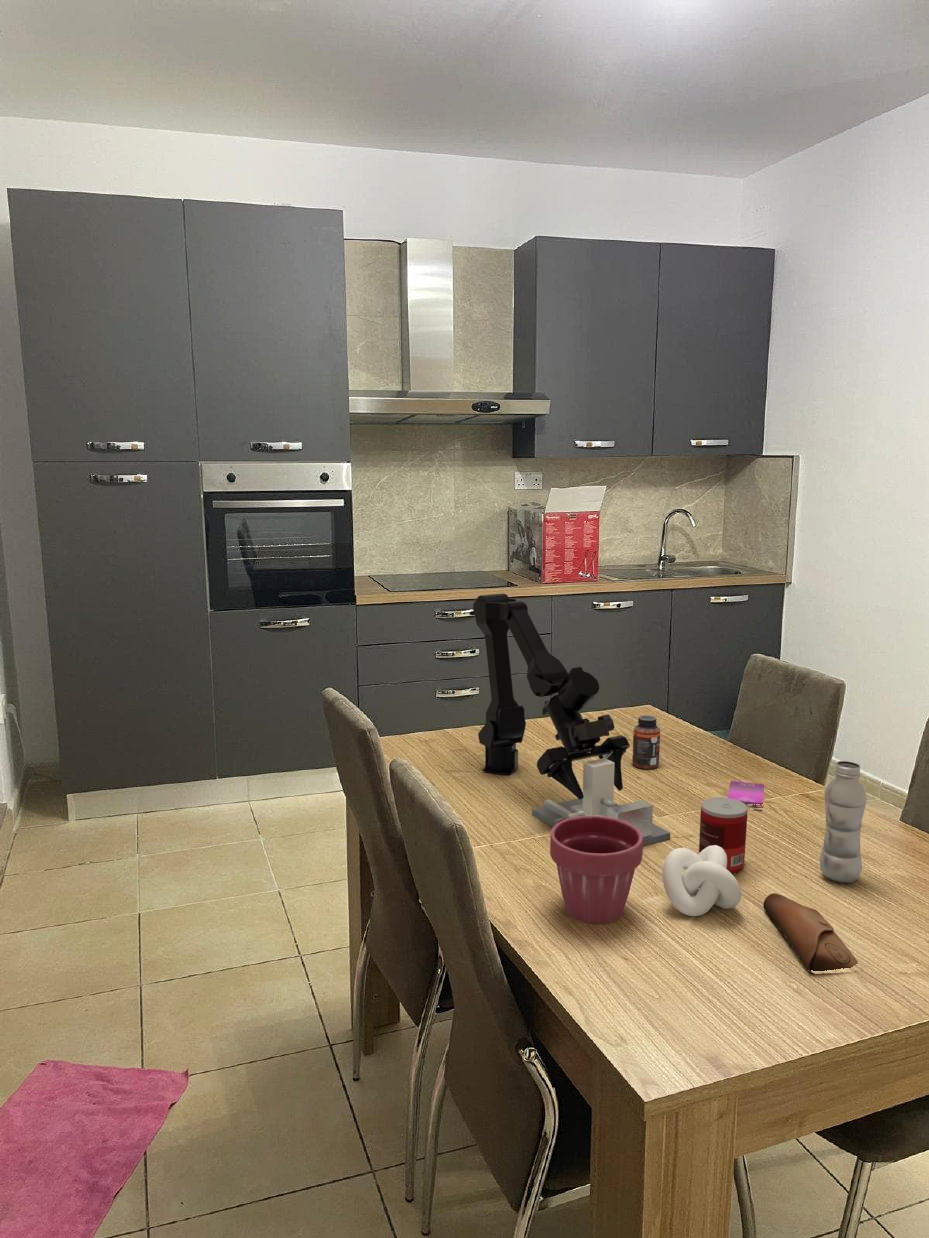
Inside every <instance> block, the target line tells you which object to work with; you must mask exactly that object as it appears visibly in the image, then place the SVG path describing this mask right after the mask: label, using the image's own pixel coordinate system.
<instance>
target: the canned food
mask: <svg viewBox="0 0 929 1238" xmlns="http://www.w3.org/2000/svg"><path fill="white" fill-rule="evenodd" d="M748 812H749V810H747V806H746V805H745V804H744V803H743V802H740V801H738V800H735V799H731V798H727V797H724V796H723V797H720V796H718V797H715V796H714V797H710V798H706V799H704V800H703V801H702V802H701V806H700V814H699V815H700V817H699V818H700V819H699V837H698V838H699V839H698V844H699V845H698V854H699V853H700V852H701V851H702V850H703V849H705V848H706V847H708V846H713V845H717V846H719V847H721V848H722V849H723V850H724V851H725V853H726V855H727V868H726V869H727V870H728V871H729V872H730V873H731V874H732V875H735V874H734V873H736V874H738V873H740V872H741V871H742V870H743V869H744V866H745V859H746V856H745V855H746V844H747V828H748V827H747V825H748ZM742 868H743V869H742ZM739 871H740V872H739Z"/></svg>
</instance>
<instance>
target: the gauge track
mask: <svg viewBox="0 0 929 1238" xmlns="http://www.w3.org/2000/svg"><path fill="white" fill-rule="evenodd" d="M582 793H583V791H582ZM543 803H544V805H543V806H539V807H535V808H532V809H531V815H532V816H534V817H535V818H537V819H538V820H540V821H541V822H543V823H545V824H546V825H548V826H550V827H551V828H553V827H554V826H555V825H556V824H557V823H559V822H561V821H563V820H566V819H569V818H573V817H569V816H568V814H572V812H570V807H571V806H575V805H579V804H583V799H581V800H580V799H578V798H574V799H569V800H565V801H559V802H555V801H553V800H551V799H549V798H548V799H544V801H543ZM618 805H619V804H617V803H615V806H618ZM574 817H578V816H574ZM667 839H668V840H671V832H670V831H668V830H666V829H664V828H662V827H661V826H658V825H656V824H655V823H653V822H652V836H651V837H647V838H643V847H644V846H645V845H646V846H650V845H653V844H657V843H660V842H664V841H668V840H667ZM656 842H657V843H656Z"/></svg>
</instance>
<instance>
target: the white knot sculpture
mask: <svg viewBox="0 0 929 1238" xmlns="http://www.w3.org/2000/svg"><path fill="white" fill-rule="evenodd" d="M662 865H663V866H662V883H663V888H664V891H665V894H666V896H667V898H668V900H669V902H670V903H671V905H672V906H673V907H674V908H675V909H676V910H678V912H680V913H681V914H684V915H686V916H688V917H698V916H699V917H700V916H702V915H705V914H706V913H707V912H709V910H711V908H713V906H714V905H715V906H718V907H719V908H722V909H726V910H727V909H733V908H735V907H737V906H738V905H739V904H740V902H741V899H742V891H741V886H740V884H739V882H738V881H737V879H736V877H735V876H734V874H731V873H730V872H729V871H728V870H727V869H726V868H727V855H726V853H725V851H724V850H723V849H722V848H721V847H719V846H717V845H713V846H708V847H706V848H705V849H703V850H702V851H701V852H700V853H699V852H698V853H696V852H695V851H693V850H691V849H690V848H688V847H677V848H675V849H673V850H671V851H670V852H669V853H668V855H667V856H666V858H665V859H664V862H663V864H662ZM683 869H684V871H683Z"/></svg>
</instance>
